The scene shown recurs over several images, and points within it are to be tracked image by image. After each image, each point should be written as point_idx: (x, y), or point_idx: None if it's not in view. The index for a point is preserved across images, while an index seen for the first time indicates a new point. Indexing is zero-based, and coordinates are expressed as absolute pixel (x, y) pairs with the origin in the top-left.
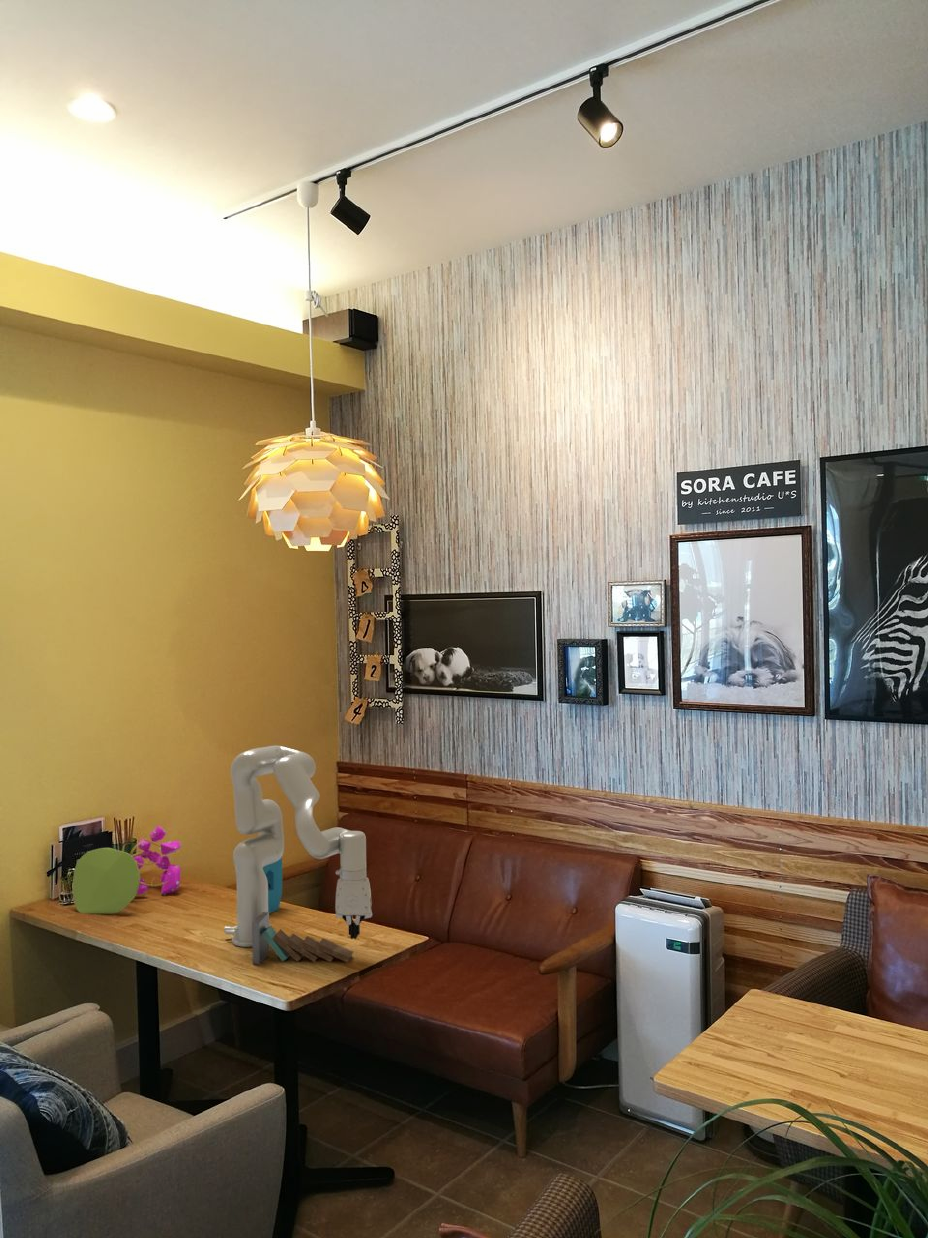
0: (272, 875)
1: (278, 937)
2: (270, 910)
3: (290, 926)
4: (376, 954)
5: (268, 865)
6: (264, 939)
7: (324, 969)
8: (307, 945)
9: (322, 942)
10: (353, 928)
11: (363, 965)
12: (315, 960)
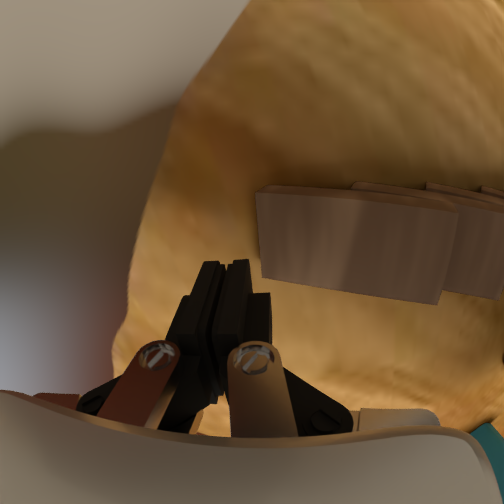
0: None
1: None
2: None
3: (455, 414)
4: (174, 299)
5: None
6: None
7: (362, 88)
8: (496, 210)
9: (437, 252)
10: (207, 314)
11: (177, 164)
12: (426, 183)
